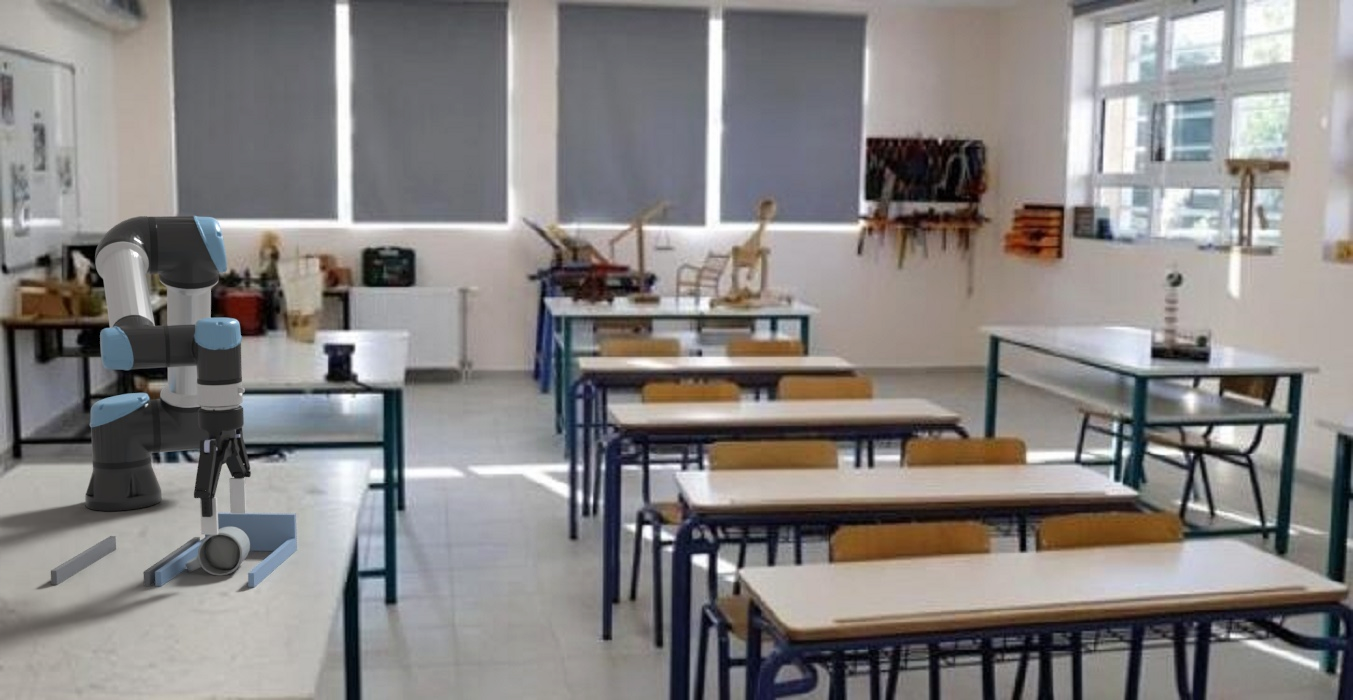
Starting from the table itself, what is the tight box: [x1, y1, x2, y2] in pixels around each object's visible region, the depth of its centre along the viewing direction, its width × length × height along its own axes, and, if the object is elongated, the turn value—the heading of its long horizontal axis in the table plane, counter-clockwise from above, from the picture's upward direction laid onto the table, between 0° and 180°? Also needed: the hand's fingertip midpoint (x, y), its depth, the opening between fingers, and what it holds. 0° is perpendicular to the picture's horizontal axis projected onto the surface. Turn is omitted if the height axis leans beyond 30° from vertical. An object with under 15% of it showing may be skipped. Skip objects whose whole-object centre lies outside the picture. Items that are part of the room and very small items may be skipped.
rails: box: [50, 535, 201, 587], centre depth 226 cm, size 22×17×2 cm
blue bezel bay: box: [155, 512, 298, 588], centre depth 226 cm, size 23×17×7 cm
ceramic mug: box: [185, 527, 250, 577], centre depth 225 cm, size 11×8×8 cm
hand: (224, 523), depth 224 cm, fingers open, 13 cm apart
